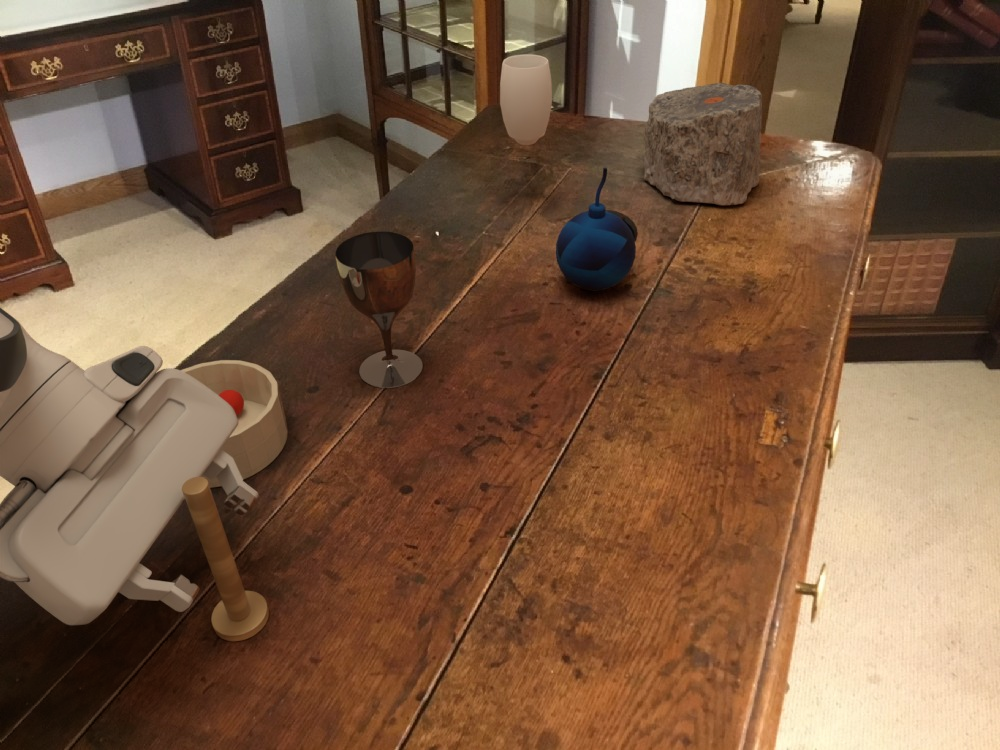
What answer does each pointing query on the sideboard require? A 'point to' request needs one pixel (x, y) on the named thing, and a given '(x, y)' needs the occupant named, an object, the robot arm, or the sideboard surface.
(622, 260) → the bomb
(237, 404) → the tomato
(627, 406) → the sideboard surface
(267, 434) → the bowl
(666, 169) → the petrified wood
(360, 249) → the wine glass
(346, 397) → the sideboard surface
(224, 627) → the stick
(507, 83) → the cup
